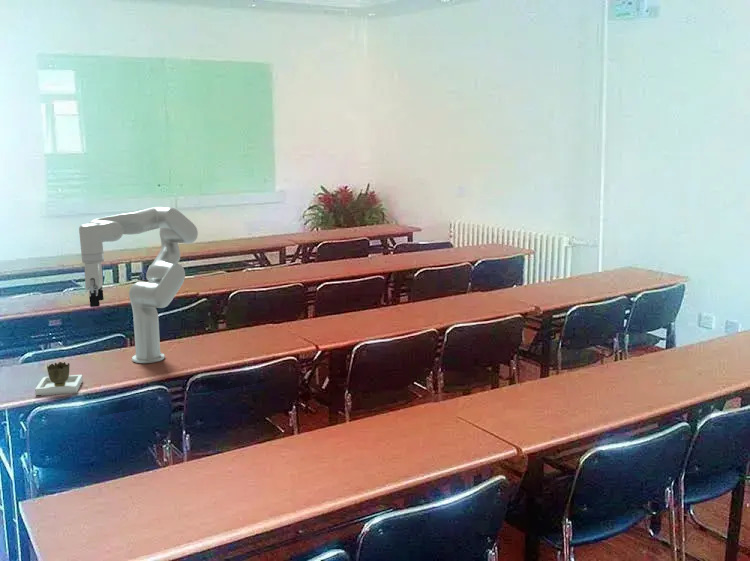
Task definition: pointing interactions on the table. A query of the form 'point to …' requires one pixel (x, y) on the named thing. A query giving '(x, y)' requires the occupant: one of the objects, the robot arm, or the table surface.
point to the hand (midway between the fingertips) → (97, 303)
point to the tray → (49, 389)
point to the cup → (58, 373)
